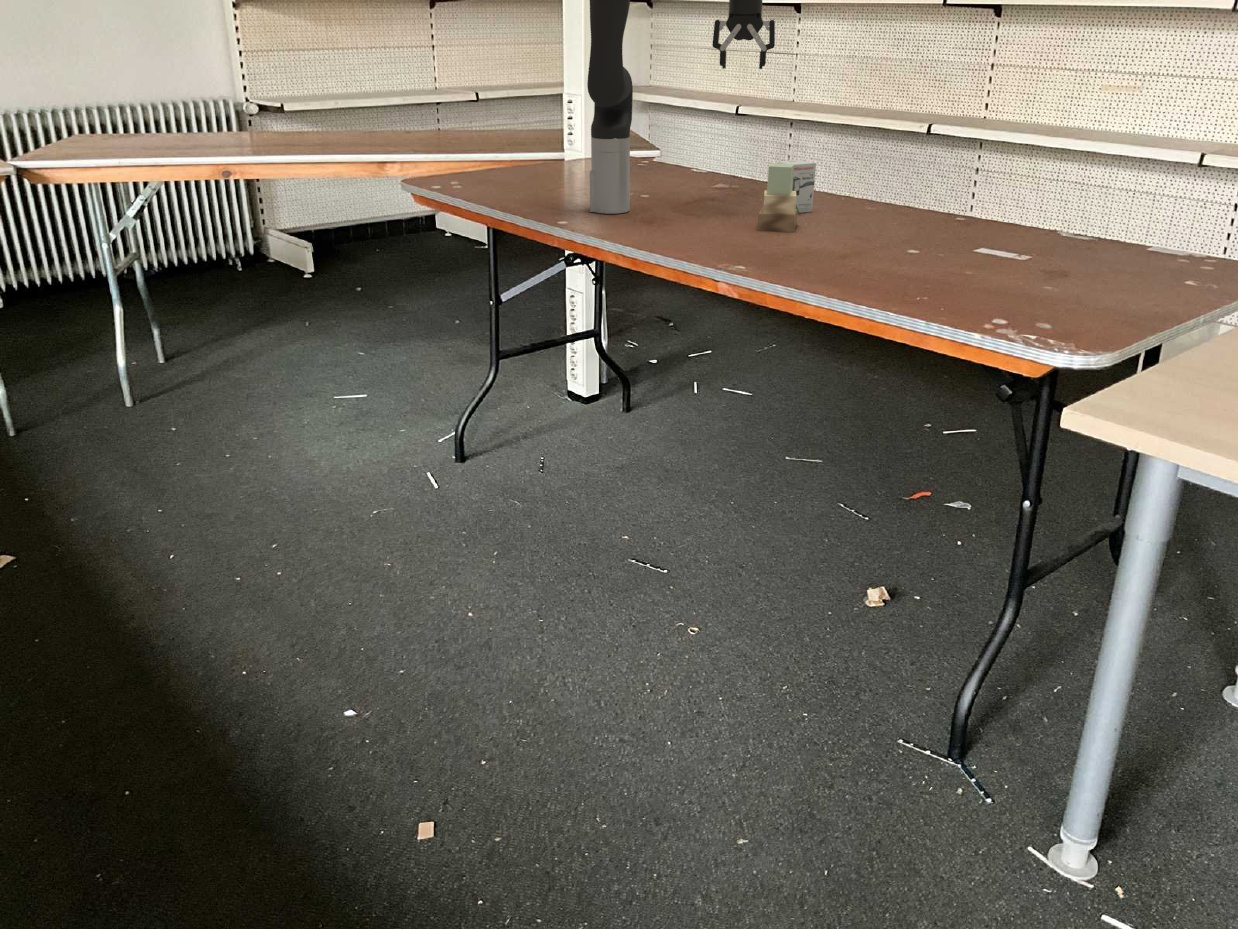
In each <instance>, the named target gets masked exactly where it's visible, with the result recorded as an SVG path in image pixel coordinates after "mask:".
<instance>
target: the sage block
mask: <svg viewBox="0 0 1238 929" xmlns="http://www.w3.org/2000/svg"><path fill="white" fill-rule="evenodd" d="M793 174H794V164H777V162H776V163H774V162H773V163H771V164H769V166H768V170H767V185H766V186H767V188H766V190H767V195H787V196H790V194H791V193H792V188H793Z"/></svg>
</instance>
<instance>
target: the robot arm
mask: <svg viewBox="0 0 1238 929" xmlns="http://www.w3.org/2000/svg"><path fill="white" fill-rule="evenodd" d="M630 3H631V0H589V25H590V27H589V28H590V50H589V51H590V53H589V61H588V62H589V64H588V72H587V81H586V82H587V84H586V86H587V92H588V95H589V97H590V99H591V100H592V102H593V103H594V106H593V108H594V110H593V119H592V122H591V126H590V141H591V142H590V143H591V144H590V147H591V148H590V150H591V151H590V153H591V159H590V160H591V169H590V171H589V213H598V214H606V215H608V214H624V213H627V212H630V205H631V204H630V203H631V200H630V199H631V198H630V192H631V188H630V186H631V185H630V182H631V181H630V178H631V175H630V174H631V173H630V172H631V170H630V169H631V167H630V166H631V165H630V164H631V160H630V159H631V157H630V156H631V155H630V154H631V152H630V151H631V147H630V146H631V145H630V144H631V126H632V122H633V120H632V119H633V94H634V93H633V89H634V88H633V79H632V77H631V74H630V73H629V71H628V69H627V68H626V67H624V61H623V56H624V55H623V43H624V35H625V30H626V24H627V22H628V21H627V20H628V16H629V11H630ZM762 13H763V0H728V18H727V20H720V19H716V20H714V24H713V37H712V47H713V48H714V49H716V50H718V51H719V52H720V53H719V66H720V67H722V70H723V69H724V70H725V69H726V68H727V51H726V50H727V48H728V46H730V44H731V43H732V42H733V40H736V41H742V40H745V41H752V40H754V41H755V43H756V44H757V45H758V47H759V48H760V51H759V65H758V66H759V67H758V69H759V70H763V67H765V66H766V62H767V61H766V60H767V51H768V50H771V49H774V48H775V45H776V42H775V40H776V37H775V36H776V20H774V19H771V20H764V19H763V18H762V15H763V14H762ZM763 26H764V27H765V30H766V31H768V32H769V33H768V35H769V37H768V40H769V42H768V43H767V44H766V43H765V42H764V40H763V39H762V37H761V36H760V34H759V32H760V31H761V30H762V28H763ZM724 27H726V28H727V30H728V31H729V32H730V33H729V35H728V36H727V37H726V38H725V40H724V42H722V43H720V42H719V40H720V31H722V30H724Z"/></svg>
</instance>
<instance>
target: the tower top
mask: <svg viewBox="0 0 1238 929" xmlns="http://www.w3.org/2000/svg"><path fill="white" fill-rule="evenodd" d="M763 196H764V197H763V208H764V209H763V214H781V215H795V210H796V197H797V196H796V191H792V193H791V194H790V196H787V195H767V189H765V190H764V195H763Z"/></svg>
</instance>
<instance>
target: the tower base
mask: <svg viewBox="0 0 1238 929" xmlns="http://www.w3.org/2000/svg"><path fill="white" fill-rule="evenodd" d="M763 209H764V206H762V207H761V209H760V211H759V212H758V216H757V230H756V231H760V230H761V231H763V232H780V233H781V232H782V233H794V232H795V230H796V227H797V222H798V213H797V211H798V209H796V210H795V215H781V214H763Z"/></svg>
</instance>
